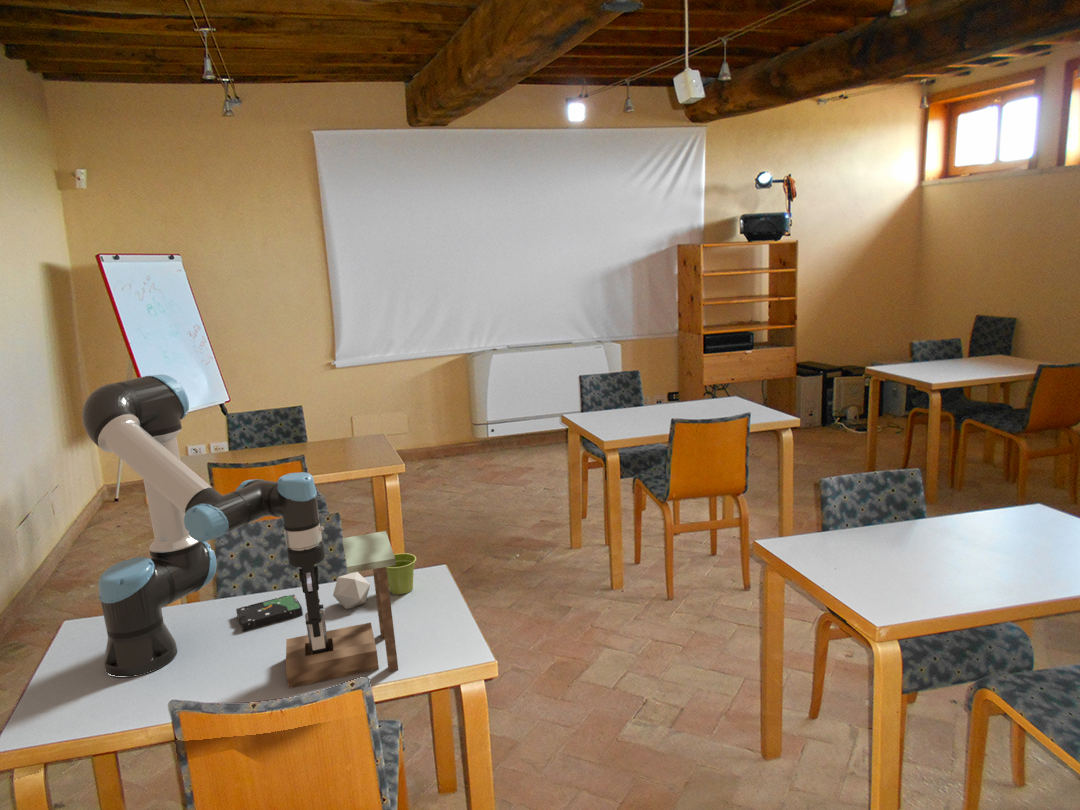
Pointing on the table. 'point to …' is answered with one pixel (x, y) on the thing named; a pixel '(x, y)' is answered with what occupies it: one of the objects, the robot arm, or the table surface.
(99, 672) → the table surface
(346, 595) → the die
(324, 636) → the peg
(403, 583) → the plant pot
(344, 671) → the socket stand
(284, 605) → the disk drive
